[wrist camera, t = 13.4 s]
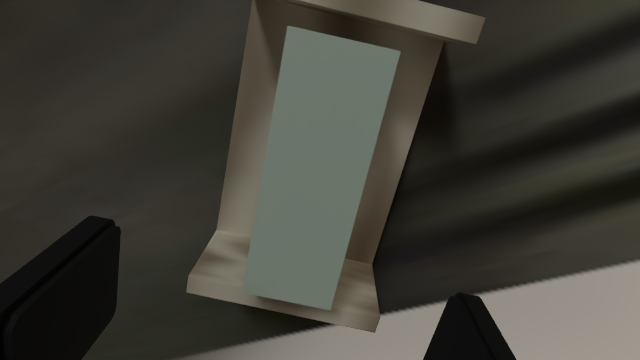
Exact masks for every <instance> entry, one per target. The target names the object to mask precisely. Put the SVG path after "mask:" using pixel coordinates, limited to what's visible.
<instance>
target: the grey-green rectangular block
mask: <svg viewBox="0 0 640 360" xmlns="http://www.w3.org/2000/svg"><path fill="white" fill-rule="evenodd" d="M400 52H401V51H398V50H393V49H389V48H385V47H381V46H376V45H372V44H367V43H363V42H359V41H354V40H350V39H345V38H341V37H337V36H332V35H328V34H324V33H319V32H315V31H310V30H306V29H302V28H297V27H292V26H287V31H286V37H285V43H284V49H283V55H282V61H281V66H280V72H279V78H278V84H277V90H276V96H275V101H274V107H273V113H272V119H271V125H270V131H269V137H268V142H267V148H266V154H265V160H264V166H263V172H262V177H261V183H260V189H259V195H258V201H257V207H256V212H255V218H254V224H253V230H252V236H251V242H250V248H249V253H248V259H247V265H246V271H245V277H244V283H243V288H242V293H246V294H251V295H256V296H261V297H266V298H271V299H276V300H281V301H286V302H291V303H296V304H301V305H306V306H311V307H316V308H321V309H326V310H331V306H332V303H333V299H334V295H335V292H336V288H337V284H338V281H339V277H340V273H341V270H342V266H343V262H344V259H345V255H346V251H347V247H348V244H349V240H350V236H351V233H352V229H353V225H354V222H355V218H356V214H357V211H358V207H359V203H360V200H361V196H362V192H363V189H364V185H365V181H366V178H367V174H368V170H369V167H370V163H371V159H372V155H373V152H374V148H375V144H376V141H377V137H378V133H379V130H380V126H381V122H382V119H383V115H384V111H385V108H386V104H387V100H388V97H389V93H390V89H391V86H392V82H393V78H394V75H395V71H396V67H397V64H398V60H399V56H400Z"/></svg>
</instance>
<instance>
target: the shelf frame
mask: <svg viewBox="0 0 640 360" xmlns="http://www.w3.org/2000/svg"><path fill="white" fill-rule="evenodd" d="M484 21H485V17H481V16H477V15H473V14H469V13H465V12H461V11H457V10H453V9H449V8H445V7H441V6H437V5H433V4H429V3H426V2H422V1H418V0H252V5H251V12H250V18H249V25H248V31H247V38H246V44H245V50H244V57H243V63H242V70H241V76H240V83H239V89H238V96H237V102H236V109H235V115H234V121H233V128H232V134H231V141H230V147H229V154H228V160H227V167H226V173H225V180H224V186H223V192H222V199H221V205H220V212H219V218H218V225H217V230H216V232H215V234H214V235H213V237H212V239H211V240H210V242H209V243H208V245H207V247H206V248H205V250H204V252H203V253H202V255H201V256H200V258H199V260H198V261H197V263H196V265H195V266H194V268H193V270H192V271H191V273H190V274H189V276H188V283H187V291H186V292H188V293H192V294H197V295H202V296H206V297H211V298H216V299H220V300H225V301H230V302H234V303H239V304H244V305H248V306H253V307H258V308H262V309H267V310H272V311H276V312H281V313H286V314H290V315H295V316H300V317H304V318H309V319H314V320H318V321H323V322H328V323H332V324H337V325H342V326H346V327H351V328H356V329H361V330H365V331H370V332H375V331H376V328H377V325H378V322H379V319H380V313H379V307H378V300H377V294H376V288H375V281H374V275H373V269H372V262H373V259H374V256H375V253H376V250H377V247H378V244H379V241H380V238H381V235H382V232H383V228H384V225H385V222H386V219H387V216H388V213H389V210H390V207H391V204H392V201H393V197H394V194H395V191H396V188H397V185H398V182H399V179H400V176H401V173H402V170H403V167H404V163H405V160H406V157H407V154H408V151H409V148H410V145H411V142H412V139H413V136H414V132H415V129H416V126H417V123H418V120H419V117H420V114H421V111H422V108H423V105H424V102H425V98H426V95H427V92H428V89H429V86H430V83H431V80H432V77H433V74H434V71H435V67H436V64H437V61H438V58H439V55H440V52H441V49H442V46H443V43H444V42H448V43H463V44H476V43H477V41H478V38H479V35H480V32H481V29H482V26H483V23H484ZM287 26H292V27H297V28H302V29H306V30H310V31H315V32H319V33H324V34H328V35H332V36H337V37H341V38H345V39H350V40H354V41H359V42H363V43H367V44H372V45H376V46H381V47H385V48H389V49H393V50H398V51H401V52H400V56H399V60H398V64H397V67H396V71H395V75H394V78H393V82H392V86H391V89H390V93H389V97H388V100H387V104H386V108H385V111H384V115H383V119H382V122H381V126H380V130H379V133H378V137H377V141H376V144H375V148H374V152H373V155H372V159H371V163H370V167H369V170H368V174H367V178H366V181H365V185H364V189H363V192H362V196H361V200H360V203H359V207H358V211H357V214H356V218H355V222H354V225H353V229H352V233H351V236H350V240H349V244H348V247H347V251H346V255H345V259H344V262H343V266H342V270H341V273H340V277H339V281H338V284H337V288H336V292H335V295H334V299H333V303H332V306H331V310H326V309H321V308H316V307H311V306H306V305H301V304H296V303H291V302H286V301H281V300H276V299H271V298H266V297H261V296H256V295H251V294H246V293H242V288H243V283H244V277H245V271H246V265H247V259H248V253H249V248H250V242H251V236H252V230H253V224H254V218H255V212H256V207H257V201H258V195H259V189H260V183H261V177H262V172H263V166H264V160H265V154H266V148H267V142H268V137H269V131H270V125H271V119H272V113H273V107H274V101H275V96H276V90H277V84H278V78H279V72H280V66H281V61H282V55H283V49H284V43H285V37H286V31H287Z"/></svg>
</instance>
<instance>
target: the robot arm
mask: <svg viewBox="0 0 640 360" xmlns="http://www.w3.org/2000/svg"><path fill="white" fill-rule="evenodd" d="M120 234H121V231H120V227H118V226H115V222H114V221H113V220H111V219H106V218H101V217H97V216H89V217H87V218H86V219H84V220H83V221H82V222H81V223H79V224H78V225H77V226H75V227H74V228H73V229H71V230H70V231H69V232H67V233H66V234H65V235H64V236H62V237H61V238H60V239H58V240H57V241H56V242H54V243H53V244H52V245H50V246H49V247H48V248H47V249H45V250H44V251H43V252H41V253H40V254H39V255H37V256H36V257H35V258H34V259H32V260H31V261H30V262H28V263H27V264H26V265H24V266H23V267H22V268H20V269H19V270H18V271H17V272H15V273H14V274H13V275H11V276H10V277H9V278H7V279H6V280H5V281H3V282H2V283H1V284H0V360H81V359H82V358H83V357H84V355H85V354H86V353H87V351H88V350H89V349H90V347H91V346H92V345H93V343H94V342H95V341H96V339H97V338H98V337H99V335H100V334H101V333H102V331H103V330H104V329H105V327H106V326H107V325H108V324H109V322H110V321H111V319H112V318H113V316H114V313H115V310H116V303H117V286H118V268H119V251H120ZM423 360H516V358H515V356H514V355H513V353H512V351H511V350H510V348H509V346H508V344H507V343H506V341H505V339H504V338H503V336H502V334H501V332H500V330H499V329H498V327H497V325H496V324H495V322H494V320H493V318H492V317H491V315H490V313H489V311H488V310H487V308H486V306H485V305H484V303H483V301H482V299H481V298H480V297H478V296H474V295H469V294H465V293H457V294H456V295H455V297H454V296H451V297H450V298H449V299H448V301H447V304H446V307H445V309H444V311H443V314H442V316H441V318H440V321H439V323H438V325H437V328H436V330H435V333H434V335H433V337H432V340H431V342H430V344H429V347H428V349H427V352H426V354H425V356H424V359H423Z"/></svg>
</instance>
